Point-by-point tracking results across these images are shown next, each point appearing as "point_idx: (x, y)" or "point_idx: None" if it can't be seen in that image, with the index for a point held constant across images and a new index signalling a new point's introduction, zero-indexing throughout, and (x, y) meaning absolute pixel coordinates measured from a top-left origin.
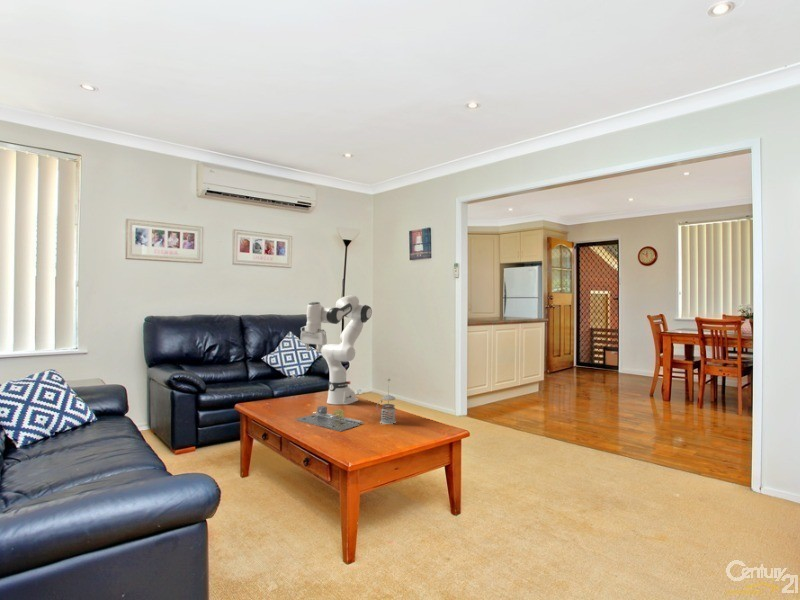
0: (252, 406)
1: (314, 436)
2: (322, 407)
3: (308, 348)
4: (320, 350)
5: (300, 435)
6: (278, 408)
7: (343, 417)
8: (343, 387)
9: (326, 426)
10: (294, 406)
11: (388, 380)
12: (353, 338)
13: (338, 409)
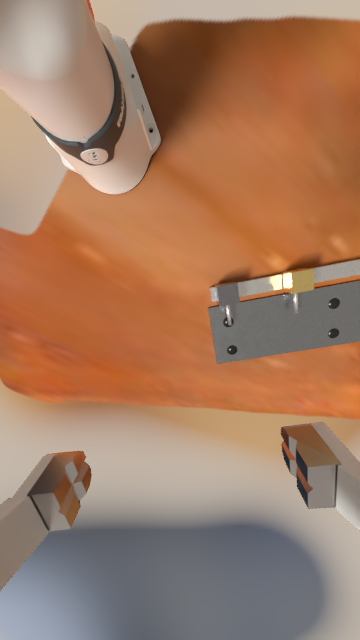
0: (38, 378)
1: (350, 393)
2: (234, 297)
3: (69, 512)
4: (337, 440)
5: (323, 408)
6: (89, 341)
7: None
8: (125, 99)
9: (324, 344)
10: (90, 298)
11: None
12: None
13: (295, 277)
